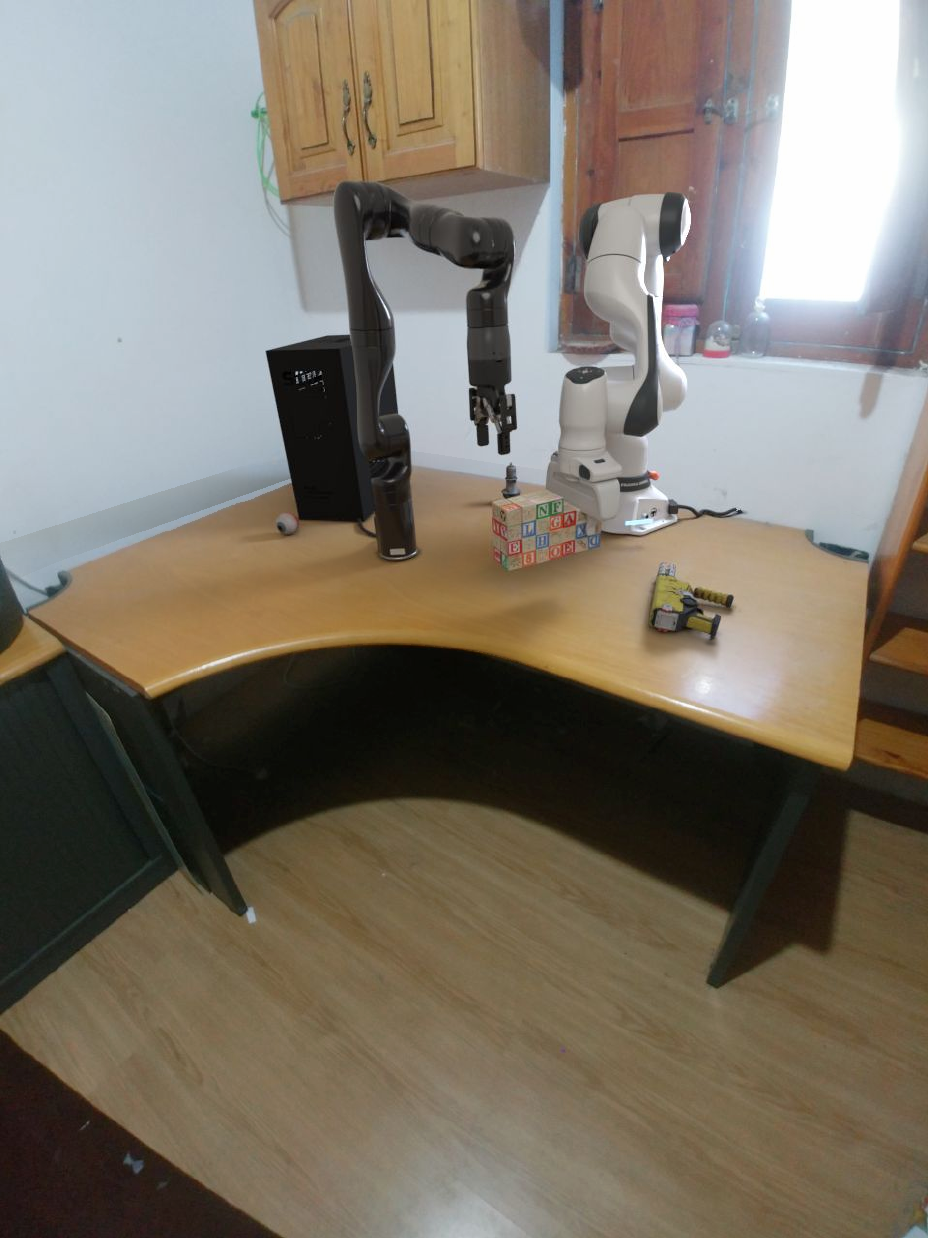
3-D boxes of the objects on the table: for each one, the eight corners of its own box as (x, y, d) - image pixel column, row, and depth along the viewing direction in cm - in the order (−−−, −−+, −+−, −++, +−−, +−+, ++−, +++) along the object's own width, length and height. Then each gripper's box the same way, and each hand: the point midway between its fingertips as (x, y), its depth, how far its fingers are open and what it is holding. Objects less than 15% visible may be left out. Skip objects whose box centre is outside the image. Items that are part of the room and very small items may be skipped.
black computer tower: (364, 521, 170) (339, 348, 148) (298, 518, 175) (265, 350, 152) (405, 480, 202) (390, 332, 180) (349, 479, 207) (327, 335, 184)
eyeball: (273, 537, 164) (268, 516, 161) (287, 528, 169) (282, 508, 166) (291, 539, 161) (286, 518, 158) (305, 530, 166) (301, 510, 163)
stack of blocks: (582, 537, 128) (585, 480, 121) (600, 547, 123) (604, 488, 116) (493, 559, 120) (491, 500, 114) (507, 571, 115) (506, 510, 109)
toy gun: (734, 572, 125) (660, 559, 129) (740, 625, 105) (652, 607, 109) (728, 592, 127) (655, 579, 131) (733, 648, 107) (647, 630, 111)
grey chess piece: (520, 506, 175) (520, 465, 169) (500, 505, 176) (499, 465, 170) (522, 499, 180) (522, 459, 174) (503, 499, 181) (502, 459, 175)
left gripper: (452, 355, 109) (459, 446, 116) (488, 360, 97) (492, 460, 105) (489, 350, 111) (494, 440, 119) (528, 354, 100) (530, 453, 107)
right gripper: (538, 450, 122) (538, 515, 129) (598, 475, 106) (594, 548, 113) (565, 446, 124) (563, 509, 131) (628, 469, 108) (621, 541, 115)
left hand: (493, 449), depth 112 cm, fingers open, 8 cm apart
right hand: (578, 528), depth 122 cm, fingers closed on stack of blocks, 6 cm apart
